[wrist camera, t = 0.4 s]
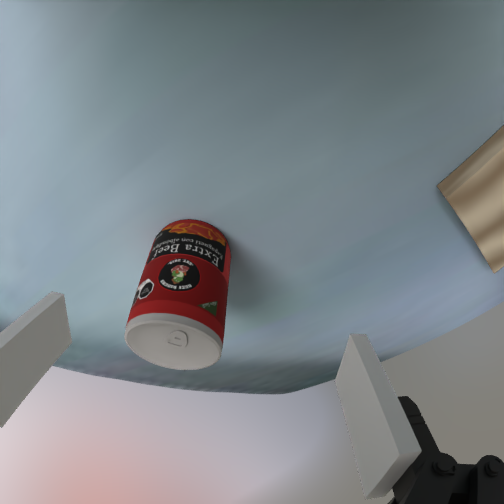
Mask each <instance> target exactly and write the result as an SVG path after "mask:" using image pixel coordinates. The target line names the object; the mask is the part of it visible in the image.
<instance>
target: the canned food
mask: <svg viewBox="0 0 504 504" xmlns="http://www.w3.org/2000/svg"><path fill="white" fill-rule="evenodd" d="M230 261H231V253H230V249H229V245H228V243H227V240H226V238H225V237H224V235H223V234H222V233H221V232H220V231H219V230H218V229H216V228H215V227H213V226H212V225H210V224H208V223H205V222H202V221H198V220H191V219H187V220H179V221H175V222H173V223H171V224H169V225H167V226H166V227H165V228H163V229H162V230H161V232H160V233H159V234H158V235H157V236H156V238H155V240H154V242H153V245H152V248H151V251H150V253H149V256H148V259H147V262H146V265H145V268H144V270H143V273H142V276H141V279H140V282H139V285H138V288H137V291H136V295H135V298H134V301H133V304H132V307H131V310H130V314H129V317H128V321H127V325H126V331H125V341H126V344H127V345H128V346H129V348H130V349H131V350H132V351H133V352H134V353H136V354H137V355H138V356H140V357H141V358H143V359H145V360H147V361H149V362H151V363H154V364H156V365H159V366H162V367H167V368H171V369H179V370H195V369H202V368H205V367H209V366H211V365H213V364H215V363H216V362H217V361H218V360H219V359H220V357H221V352H222V348H223V338H224V329H225V317H226V305H227V294H228V283H229V272H230Z"/></svg>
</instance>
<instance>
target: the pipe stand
mask: <svg viewBox="0 0 504 504" xmlns="http://www.w3.org/2000/svg"><path fill="white" fill-rule="evenodd" d="M437 187H438V188H439V190H440V191H441V193H442V194H443V195H444V197H445V198H446V199H447V201H448V202H449V204H450V205H451V206H452V208H453V209H454V211H455V212H456V214H457V215H458V216H459V218H460V219H461V221H462V222H463V224H464V225H465V227H466V228H467V230H468V231H469V233H470V234H471V236H472V238H473V239H474V241H475V242H476V244H477V246H478V247H479V249H480V250H481V252H482V254H483V255H484V257H485V259H486V261H487V262H488V264H489V266H490V268H491V269H492V271H493V273H496V272H497V271H498V270H500V269H501V268H502V267H503V266H504V125H503V126H502V127H501V128H500V129H499V130H498V131H497V132H496V133H495V134H494V135H493V136H492V137H491V138H490V139H489V140H487V141H486V142H485V143H484V144H483V145H482V146H481V147H480V148H479V149H478V150H477V151H476V152H474V153H473V154H472V155H471V156H470V157H469V158H468V159H467V160H466V161H464V162H463V163H462V164H461V165H460V166H459V167H458V168H457V169H455V170H454V171H453V172H452V173H451V174H450V175H449V176H447V177H446V178H445V179H444V180H443V181H442V182H441V183H439V184H438V185H437Z"/></svg>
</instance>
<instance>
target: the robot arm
mask: <svg viewBox="0 0 504 504" xmlns="http://www.w3.org/2000/svg"><path fill="white" fill-rule="evenodd" d="M71 343H72V338H71V333H70V328H69V323H68V317H67V311H66V304H65V298H64V294H61V293H57V292H53V291H52V292H51V293H49V294H48V295H47V296H45V297H44V298H43V299H41V300H40V301H39V302H38V303H36V304H35V305H34V306H33V307H31V308H30V309H29V310H28V311H26V312H25V313H24V314H23V315H21V316H20V317H19V318H18V319H16V320H15V321H14V322H13V323H12V324H10V325H9V326H8V327H7V328H6V329H4V330H3V331H2V332H1V333H0V427H1V428H2V427H3V426H4V424H5V423H6V422H7V420H8V419H9V418H10V417H11V415H12V414H13V413H14V411H15V410H16V409H17V407H18V406H19V405H20V404H21V402H22V401H23V400H24V399H25V398H26V396H27V395H28V394H29V393H30V391H31V390H32V389H33V388H34V386H35V385H36V384H37V383H38V382H39V380H40V379H41V378H42V377H43V376H44V374H45V373H46V372H47V371H48V370H49V368H50V367H51V366H52V365H53V364H54V363H55V361H56V360H57V359H58V358H59V357H60V356H61V355H62V353H63V352H64V351H65V350H66V349H67V348H68V347H69V345H70V344H71ZM335 384H336V388H337V392H338V395H339V399H340V402H341V406H342V410H343V414H344V417H345V421H346V425H347V429H348V432H349V436H350V440H351V444H352V448H353V452H354V456H355V460H356V464H357V468H358V473H359V476H360V481H361V485H362V490H363V494H364V498H365V499H371V498H377V497H383V496H385V495H386V494H387V493H388V492H389V491H390V490H391V489H393V492H394V496H395V497H394V498H393V499H392V500H391V501H390V502H389V503H388V504H504V463H503V462H502V460H501V459H499V458H498V457H496V456H493V455H486V456H484V457H482V458H481V459H480V460H479V461H478V463H477V464H476V465H473V464H457V462H456V461H455V459H454V458H453V457H452V456H450V455H448V454H445V453H441V452H440V451H439V449H438V447H437V445H436V443H435V441H434V439H433V437H432V435H431V433H430V431H429V429H428V427H427V425H426V424H425V421H424V419H423V417H422V416H421V413H420V411H419V409H418V407H417V405H416V404H415V403H414V402H413V401H412V400H411V399H410V398H409V397H408V396H402V397H397V395H396V393H395V391H394V389H393V387H392V385H391V383H390V381H389V379H388V377H387V375H386V373H385V371H384V369H383V367H382V365H381V363H380V361H379V359H378V357H377V355H376V353H375V351H374V349H373V347H372V345H371V343H370V341H369V339H368V337H367V335H366V334H350V335H349V339H348V342H347V345H346V349H345V352H344V355H343V358H342V361H341V364H340V367H339V370H338V373H337V376H336V379H335Z"/></svg>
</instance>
